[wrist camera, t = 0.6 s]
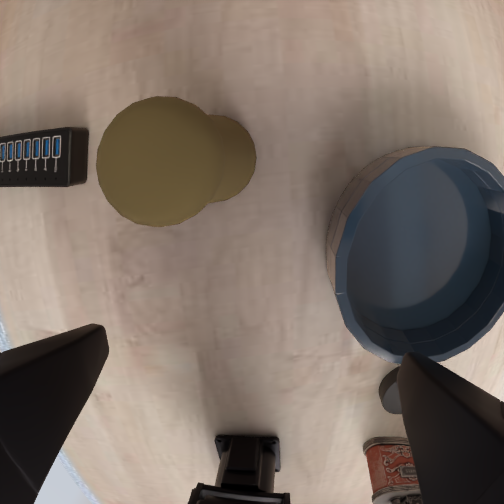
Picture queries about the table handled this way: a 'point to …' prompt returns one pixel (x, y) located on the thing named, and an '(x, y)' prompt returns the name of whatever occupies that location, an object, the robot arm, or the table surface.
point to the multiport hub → (44, 158)
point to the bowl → (419, 252)
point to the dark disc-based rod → (390, 393)
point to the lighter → (392, 471)
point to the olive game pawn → (171, 161)
